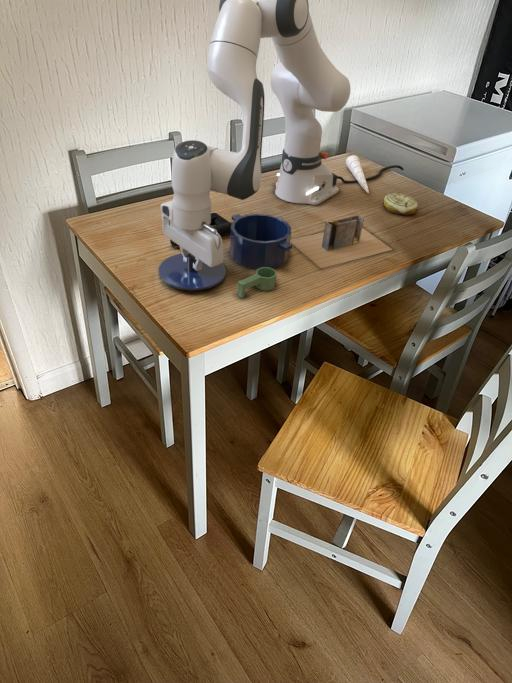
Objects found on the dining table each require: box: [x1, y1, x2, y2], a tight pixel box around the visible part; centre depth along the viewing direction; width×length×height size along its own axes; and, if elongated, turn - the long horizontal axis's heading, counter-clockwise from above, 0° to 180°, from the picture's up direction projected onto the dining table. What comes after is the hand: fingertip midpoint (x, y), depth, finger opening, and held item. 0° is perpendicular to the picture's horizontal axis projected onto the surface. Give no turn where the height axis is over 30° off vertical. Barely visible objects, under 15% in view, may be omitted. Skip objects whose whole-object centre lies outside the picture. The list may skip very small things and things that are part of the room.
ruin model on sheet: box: [290, 214, 393, 269], centre depth 150 cm, size 25×16×10 cm, turn 120°
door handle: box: [169, 212, 233, 248], centre depth 153 cm, size 3×20×16 cm
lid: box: [158, 253, 227, 291], centre depth 134 cm, size 17×17×5 cm
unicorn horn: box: [345, 154, 370, 194], centre depth 188 cm, size 5×24×5 cm, turn 3°
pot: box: [229, 213, 294, 270], centre depth 144 cm, size 16×21×8 cm
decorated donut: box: [382, 192, 419, 216], centre depth 172 cm, size 10×11×4 cm
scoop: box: [237, 267, 277, 299], centre depth 132 cm, size 11×5×4 cm, turn 132°
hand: (192, 265), depth 134 cm, fingers closed on lid, 2 cm apart
